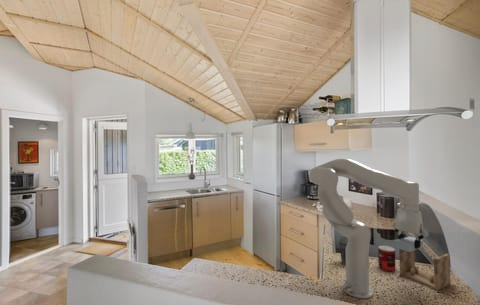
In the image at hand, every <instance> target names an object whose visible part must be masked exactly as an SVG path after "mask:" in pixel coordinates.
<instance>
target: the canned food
mask: <svg viewBox="0 0 480 305" xmlns="http://www.w3.org/2000/svg"><path fill="white" fill-rule="evenodd" d="M377 248H378V249H377V254H378V256H377V257H378V267H379V269H381V270H382V271H387V272H395V271H396V249H395V247H392V246H390V245H379V246H378V247H377Z"/></svg>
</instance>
